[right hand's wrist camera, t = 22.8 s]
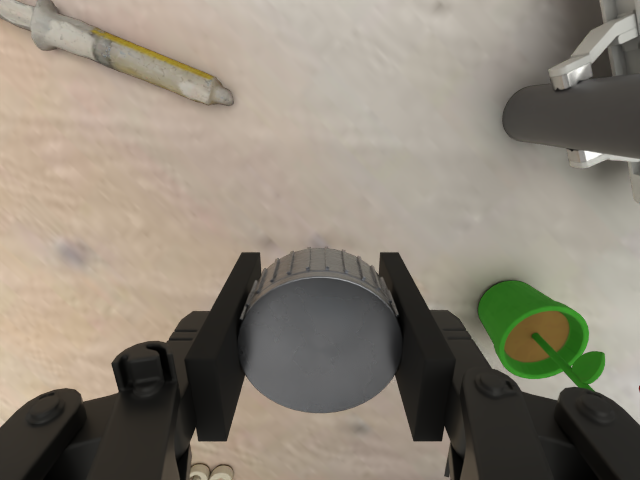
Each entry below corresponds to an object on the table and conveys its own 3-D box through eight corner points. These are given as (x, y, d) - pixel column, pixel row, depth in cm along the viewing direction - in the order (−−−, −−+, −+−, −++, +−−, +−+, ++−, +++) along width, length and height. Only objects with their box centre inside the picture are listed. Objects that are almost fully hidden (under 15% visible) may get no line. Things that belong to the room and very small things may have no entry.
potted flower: (492, 258, 35) (847, 565, 11) (560, 279, 36) (1024, 604, 12) (452, 333, 38) (666, 694, 14) (516, 350, 39) (816, 718, 15)
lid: (258, 232, 11) (244, 259, 9) (409, 260, 12) (427, 291, 10) (240, 357, 13) (226, 402, 11) (371, 378, 14) (381, 425, 12)
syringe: (241, 85, 29) (233, 82, 26) (227, 128, 30) (218, 129, 28) (-75, -58, 26) (-119, -77, 23) (-76, -4, 27) (-118, -17, 24)
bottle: (563, 122, 30) (838, 136, 14) (513, 151, 31) (720, 194, 15) (545, 74, 29) (827, 28, 13) (494, 105, 30) (699, 99, 14)
